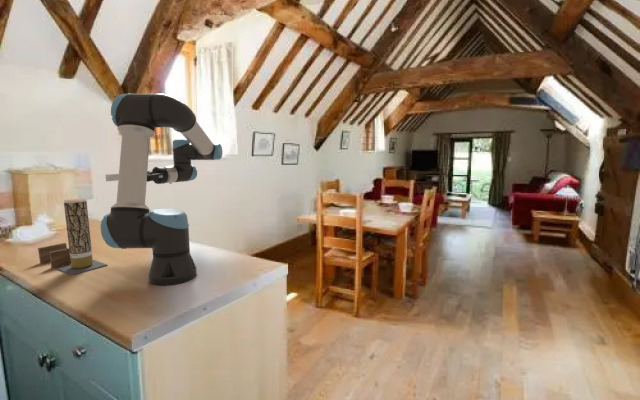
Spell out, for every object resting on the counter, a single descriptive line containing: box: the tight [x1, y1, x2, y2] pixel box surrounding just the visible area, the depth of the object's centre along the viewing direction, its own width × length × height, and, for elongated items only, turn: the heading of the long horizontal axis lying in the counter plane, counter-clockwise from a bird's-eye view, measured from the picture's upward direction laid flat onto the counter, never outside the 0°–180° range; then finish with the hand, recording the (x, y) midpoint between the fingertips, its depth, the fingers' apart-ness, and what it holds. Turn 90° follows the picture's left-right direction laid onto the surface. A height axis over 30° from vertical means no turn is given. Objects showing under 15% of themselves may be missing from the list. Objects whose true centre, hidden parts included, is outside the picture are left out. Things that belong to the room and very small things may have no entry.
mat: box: [56, 259, 108, 276], centre depth 131 cm, size 12×12×1 cm
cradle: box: [37, 242, 71, 269], centre depth 136 cm, size 11×9×6 cm
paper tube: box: [63, 198, 94, 269], centre depth 129 cm, size 7×7×25 cm
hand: (114, 178), depth 138 cm, fingers open, 13 cm apart
